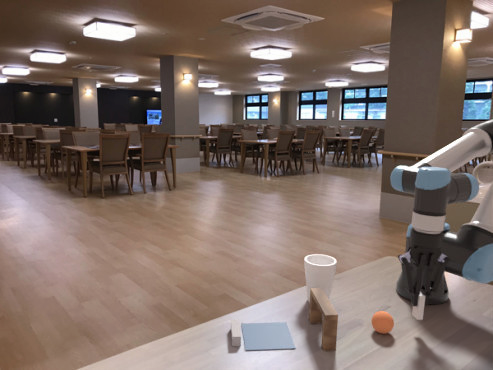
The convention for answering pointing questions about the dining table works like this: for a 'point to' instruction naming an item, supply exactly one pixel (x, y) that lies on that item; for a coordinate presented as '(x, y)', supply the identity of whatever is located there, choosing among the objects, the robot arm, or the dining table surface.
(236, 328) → the beige rectangular bar
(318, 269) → the foam cup
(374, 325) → the ball
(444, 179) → the robot arm
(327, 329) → the bridge
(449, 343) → the dining table surface
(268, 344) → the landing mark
